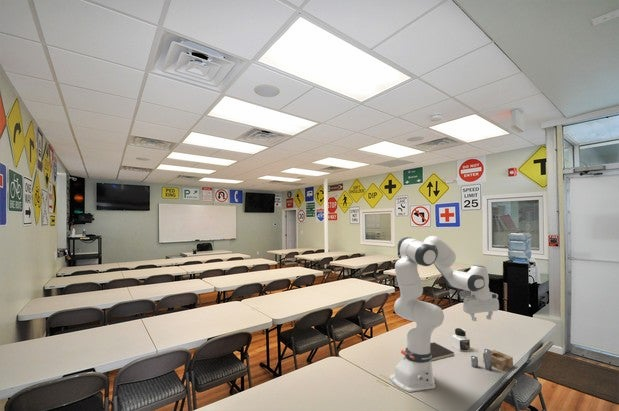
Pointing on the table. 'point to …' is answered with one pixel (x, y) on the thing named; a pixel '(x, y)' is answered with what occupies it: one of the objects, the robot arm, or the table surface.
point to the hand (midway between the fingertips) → (481, 319)
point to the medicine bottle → (460, 340)
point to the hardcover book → (439, 351)
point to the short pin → (474, 361)
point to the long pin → (488, 359)
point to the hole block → (500, 360)
